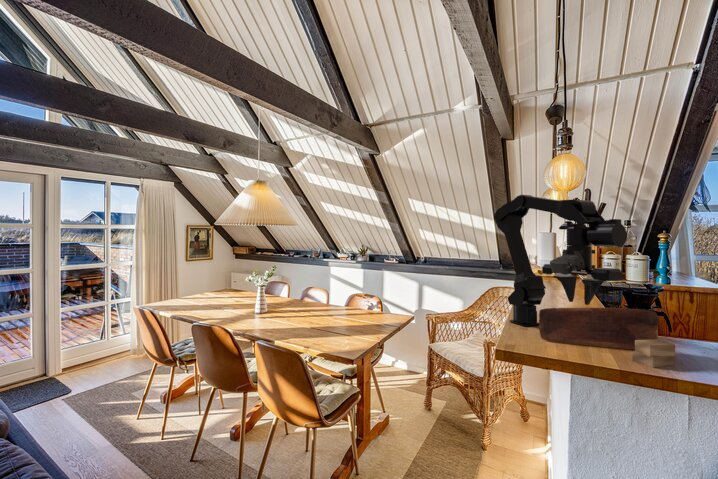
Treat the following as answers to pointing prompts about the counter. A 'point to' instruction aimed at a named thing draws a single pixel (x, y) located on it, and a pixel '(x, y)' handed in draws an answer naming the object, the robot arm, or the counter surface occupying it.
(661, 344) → the offcut upper
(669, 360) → the offcut lower
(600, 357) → the counter surface
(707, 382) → the counter surface
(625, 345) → the wooden tablet
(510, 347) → the counter surface
